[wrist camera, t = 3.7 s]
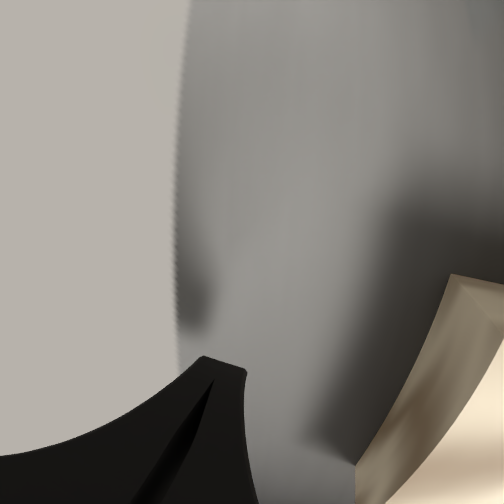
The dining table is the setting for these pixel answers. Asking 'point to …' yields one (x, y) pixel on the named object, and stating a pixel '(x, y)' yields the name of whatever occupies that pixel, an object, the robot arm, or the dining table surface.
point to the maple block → (446, 410)
